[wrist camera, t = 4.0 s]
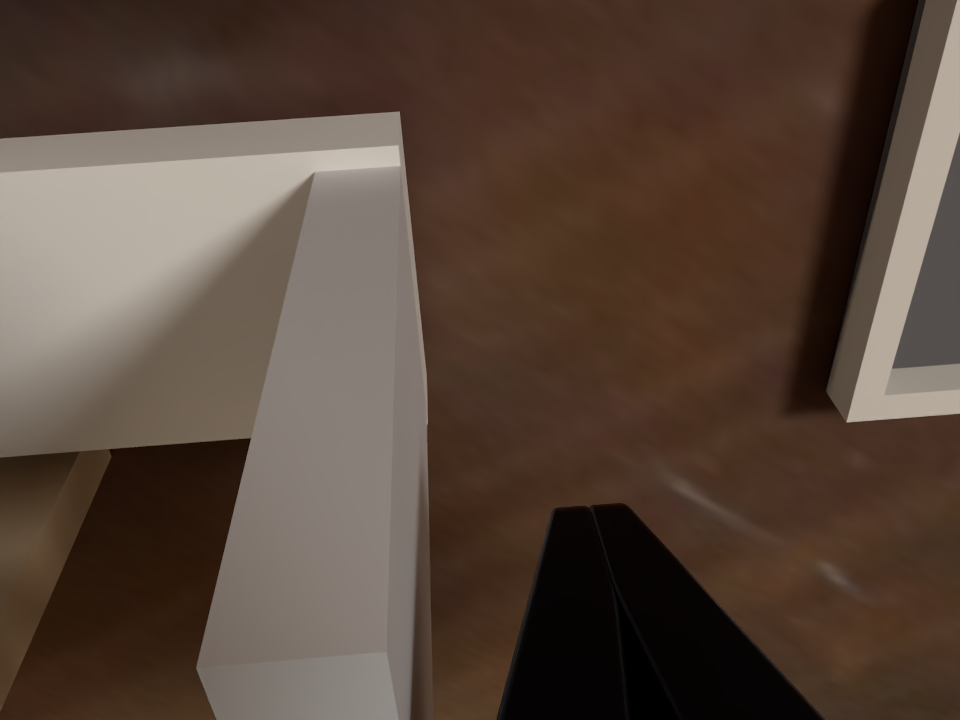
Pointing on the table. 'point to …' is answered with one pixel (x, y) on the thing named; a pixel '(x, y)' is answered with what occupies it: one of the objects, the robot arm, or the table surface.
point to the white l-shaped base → (244, 378)
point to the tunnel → (38, 539)
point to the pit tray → (910, 245)
